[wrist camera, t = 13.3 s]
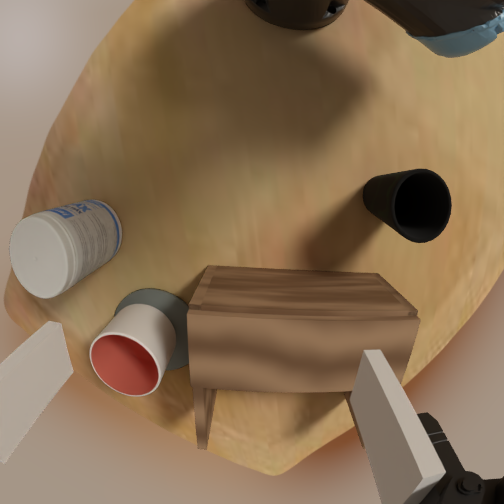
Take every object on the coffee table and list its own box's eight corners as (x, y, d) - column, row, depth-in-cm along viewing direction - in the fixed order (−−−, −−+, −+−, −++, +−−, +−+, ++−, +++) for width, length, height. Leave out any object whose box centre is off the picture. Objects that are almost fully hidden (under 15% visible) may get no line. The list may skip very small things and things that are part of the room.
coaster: (110, 284, 44) (109, 285, 43) (200, 292, 44) (200, 293, 43) (121, 362, 47) (120, 363, 47) (202, 372, 47) (202, 374, 47)
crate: (208, 265, 43) (186, 308, 29) (378, 273, 43) (421, 314, 29) (209, 391, 48) (196, 453, 35) (350, 394, 48) (372, 452, 35)
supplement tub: (109, 188, 40) (48, 198, 26) (134, 249, 42) (84, 285, 28) (61, 215, 41) (-3, 235, 27) (85, 271, 43) (29, 309, 29)
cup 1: (112, 298, 44) (82, 328, 34) (175, 302, 44) (155, 336, 34) (122, 354, 46) (98, 390, 36) (180, 360, 46) (165, 401, 36)
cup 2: (395, 230, 41) (438, 252, 29) (348, 213, 41) (381, 230, 29) (411, 179, 39) (459, 185, 28) (365, 159, 39) (404, 156, 27)
